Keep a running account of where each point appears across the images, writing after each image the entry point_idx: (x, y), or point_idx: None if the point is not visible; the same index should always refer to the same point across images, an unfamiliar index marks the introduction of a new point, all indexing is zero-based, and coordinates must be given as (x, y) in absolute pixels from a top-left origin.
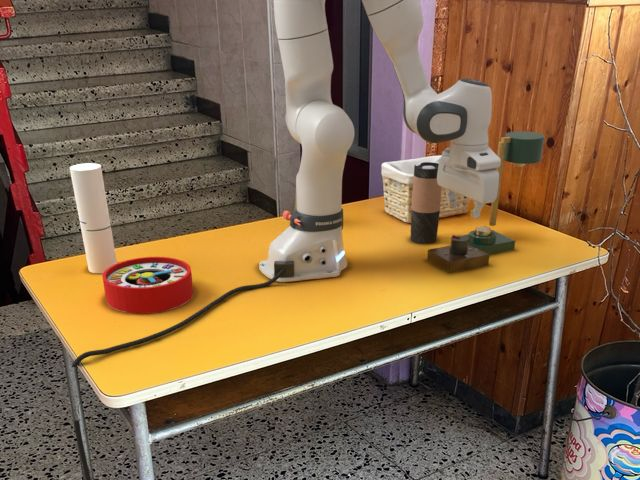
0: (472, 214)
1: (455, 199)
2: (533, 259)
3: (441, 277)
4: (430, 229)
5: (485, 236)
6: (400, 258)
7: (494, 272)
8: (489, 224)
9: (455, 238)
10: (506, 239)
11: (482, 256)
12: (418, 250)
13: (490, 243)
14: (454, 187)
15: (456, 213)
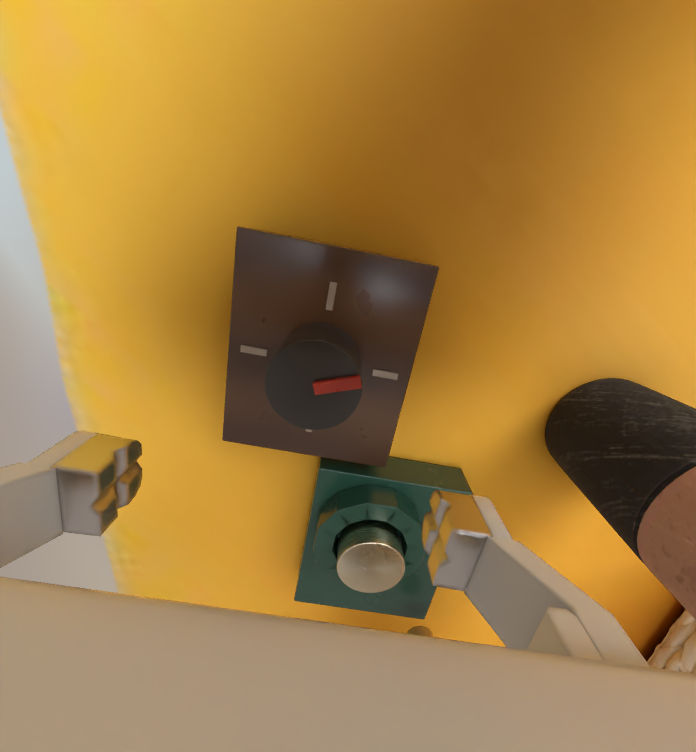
0: (80, 446)
1: (467, 594)
2: (206, 556)
3: (235, 162)
4: (588, 444)
5: (340, 538)
6: (539, 182)
7: (172, 386)
8: (425, 629)
9: (325, 366)
10: (321, 589)
11: (225, 406)
12: (540, 328)
13: (316, 524)
14: (395, 727)
15: (651, 661)
